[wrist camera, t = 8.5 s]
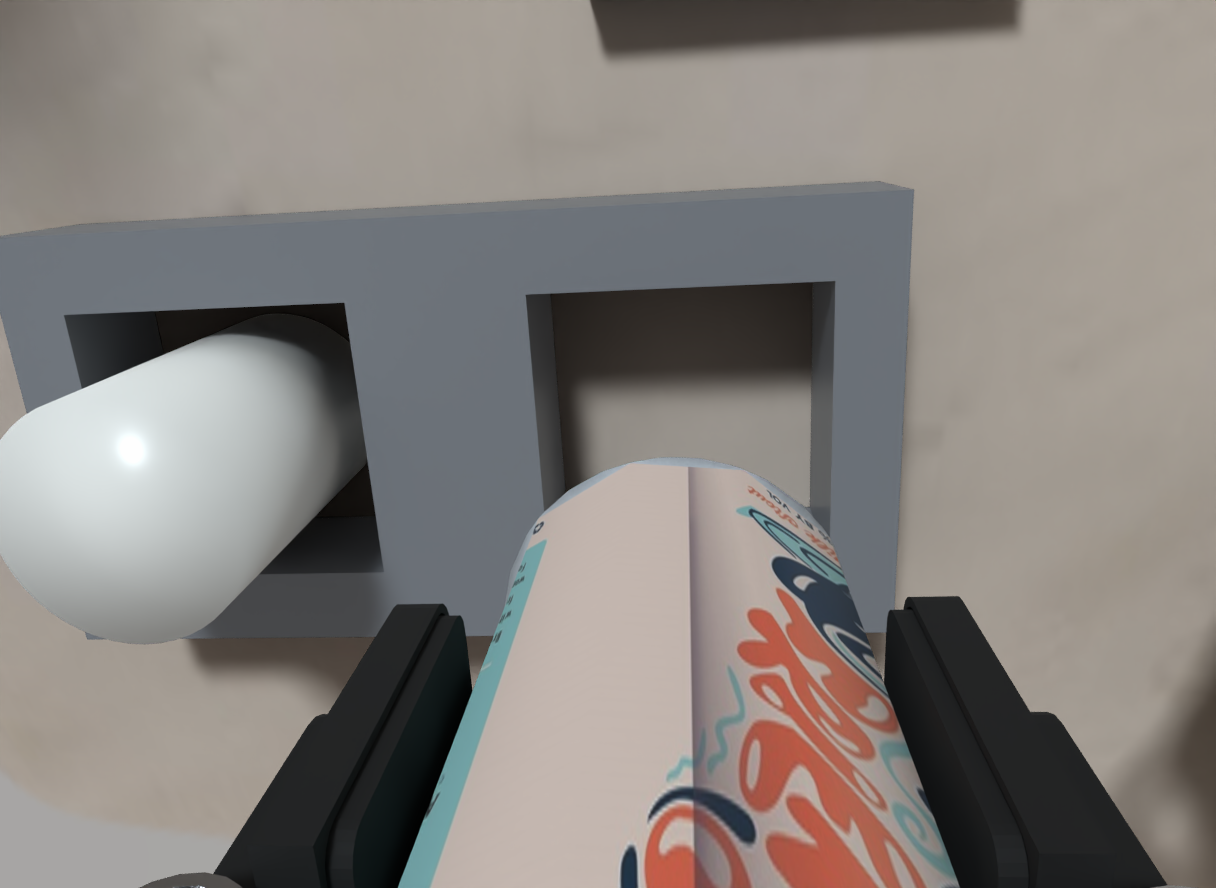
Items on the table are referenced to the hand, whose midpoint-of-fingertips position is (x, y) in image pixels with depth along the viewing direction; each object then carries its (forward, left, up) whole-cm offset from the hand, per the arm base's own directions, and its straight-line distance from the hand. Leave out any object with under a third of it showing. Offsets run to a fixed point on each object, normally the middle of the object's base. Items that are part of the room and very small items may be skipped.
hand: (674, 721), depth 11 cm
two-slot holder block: (+5, 0, -14) cm, 15 cm away
